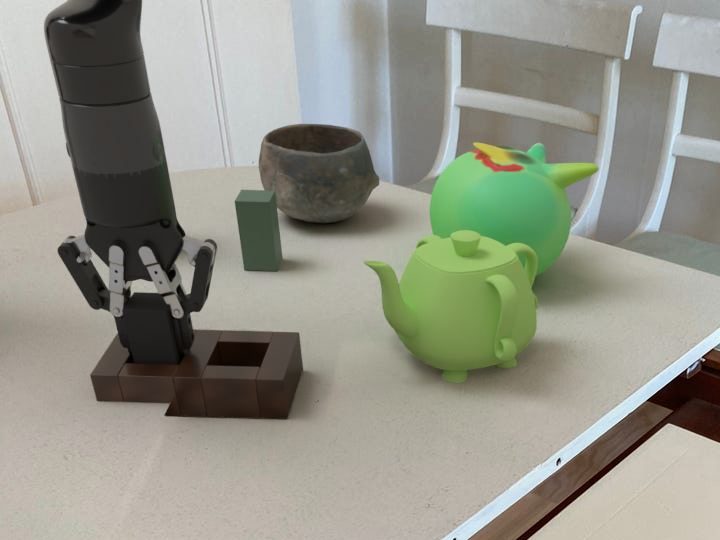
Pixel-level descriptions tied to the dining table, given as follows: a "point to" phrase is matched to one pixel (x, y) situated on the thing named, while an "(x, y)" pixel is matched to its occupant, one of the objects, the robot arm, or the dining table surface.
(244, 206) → the pin
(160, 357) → the pin
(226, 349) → the wooden socket block
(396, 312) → the teapot
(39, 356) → the dining table surface
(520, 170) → the toy bird
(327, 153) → the bowl
